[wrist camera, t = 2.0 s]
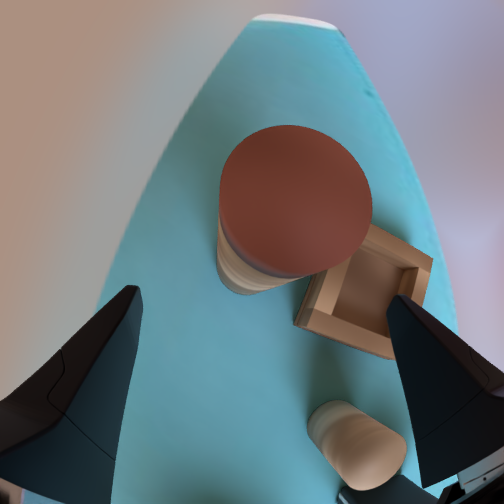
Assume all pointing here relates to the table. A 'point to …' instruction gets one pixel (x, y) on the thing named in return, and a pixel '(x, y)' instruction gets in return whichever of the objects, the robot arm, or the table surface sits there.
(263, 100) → the table surface
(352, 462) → the short pin
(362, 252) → the light brown square frame
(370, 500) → the battery charger
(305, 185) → the long pin
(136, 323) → the robot arm
